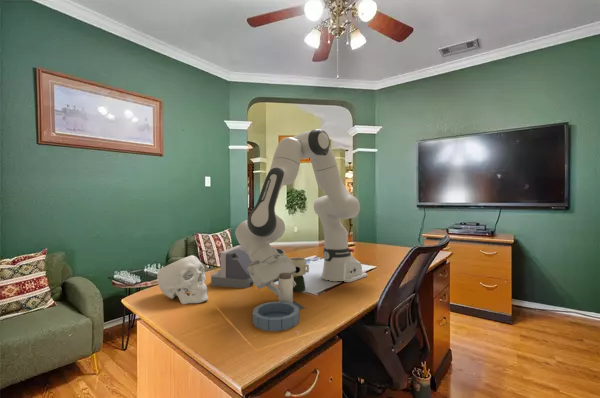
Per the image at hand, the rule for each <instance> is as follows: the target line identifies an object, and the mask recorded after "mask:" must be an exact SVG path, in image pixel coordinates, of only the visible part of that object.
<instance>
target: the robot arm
mask: <svg viewBox="0 0 600 398" xmlns="http://www.w3.org/2000/svg"><path fill="white" fill-rule="evenodd" d="M330 143H331V141H330V137H329V135H328V134H327V132H326V131H325V130H324V129H322V128H321V129H320V128H316V129H315V128H314V129H312V130H306V131H303V132H300V133H298V134H295V135H293V136H289V137H288V136H287V137H286V136H285V137H283V138H282V139H281V140H280V141H279V143H278V144H277V146H276V149H275V152H274V153H273V154H274V155H273V157H272V161H271V165H270V168H269V171H268V173H267V175H266V177H265V180H264V183H263V184H262V188H261V191H260V193H259V195H258V200H257V202H256V204H255V206H254V207H253V208H252V210H251V211H250V212H249V214H248V217H247V219H245V220H243V221H241V222H240V223H239V225H238V226H237V227H236V229H235V233H234V234H235V237H236V240H237V242H238V244H239V245H241V247H242V248H243V251H245V252H246V253H247V254H248V255H249V258H250V260H251V262H252V263H249V264H248V266H247V270H248V271H249V273H250V276H251V278H252V280H253V282H254V284H253V285H254V286H255V287H256V288H257V289H263V288H265V287H267V288H268V290H270V291H272V292H273V293H274V294H275V296H279V294H280V293H281V292H282V291H281V290H280V288H279V287H278V286H276V285H275V283H276V282H278V278H280V274H281V273H291V276H292V277H293V275H292V274H293V273H294V272H295V271H296V267H295V266H294V264H293V263H292V261H291V260H290V259H289V258H290V257H288V256H287V255H286V252H285V251H284V249H282V248H278V247H277V248H276V247H273V246H271V243H273V242H276V241H277V240H278V239H280V238H281V237H282V236H283V235H284V233H285V230H286V225H285V221H284V220H283V219H282V218H280V217H279V215H278V214H276V204H277V200H278V198H279V195H280V191H281V189H282V188H283V187H284V186H289V185H291V184H293V183H294V182H295V180H296V178H297V176H298V174H299V171H300V170H299V169H300V166H301V162H302V161H301V160H306V159H310V160H311V161H310V162H311V166H312V170H313V173H314V177H315V180H316V185H317V187H318V188H319V189H320V190H321V191H323V192H324V194H325V195H322V196H320V197H319V196H318V197H317V198H316V199H315V200H314V202H313V210H314V213H315V214H316V215H317V216H318V217H319V219H320V222H321V225H322V229H323V237H324V238H323V239H324V247H323V260H324V261H323V267H322V272H321V279H323V280H325V281H328V280H329V281H330V282H337V281H344V282H343V283H352V282H354V281H357V280H360V279H363V278H365V277H368V274H367V272H365V271H363V268H362V267H363V265H362V264H361V261H359V260H357V259H356V258H355V257H354V256H353V255H352V253H355V251H356V249H355V248H353V247H349V232H348V230H347V229H346V227H344V225H343V224H342V221H341V220H348V219H352V218H356V217H357V216H358V215H359V213H360V211H361V204H360V201H359V200H358V198H357V197H355V196H354V195H353V194H352V193H351V192H350V191H349V190H348V189H347V187H346V186H345V184H344V182H343V180H342V178H341V174H340V171H339V167H338V163H337V160H336V157H335V155H334V154H335V153H334V152H333V149H332V148H331V146H330V145H331V144H330ZM295 286H296V283H295V281H294V278H293V287H295Z"/></svg>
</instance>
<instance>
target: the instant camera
mask: <svg viewBox="0 0 600 398" xmlns="http://www.w3.org/2000/svg"><path fill="white" fill-rule="evenodd" d="M219 261H220V270H217V271H214V272H212V273H211V274H210V281H211V282H210V283H211V284H210V285H211V287H223V288H224V287H225V288H235V289H236V288H240V289H248V288H250V287H251V286H253V285H255V284H254V282H253V280H252V278H251V276H250V273H249V271H248V270H247V266H248V264H249V263H252V262H251V260H250V258H249V255H248V254H247V253H246V252H245V251H244V250H243V248H242V247H241V245H240V244H239V245H235V246H233V247H231V248H228V249H225V250H223V251H221V252H220V257H219Z"/></svg>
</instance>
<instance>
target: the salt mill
mask: <svg viewBox="0 0 600 398" xmlns="http://www.w3.org/2000/svg"><path fill="white" fill-rule="evenodd" d="M277 282H278V283H277V284H278V286H277V288H278V287H279V288H280V290H281V291H282V292H281V293H280V294H279V295H278V301H282V302H289V303H293V301H294V289H293V277H292V276H291V273H281V274H280V278H278V281H277Z"/></svg>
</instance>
